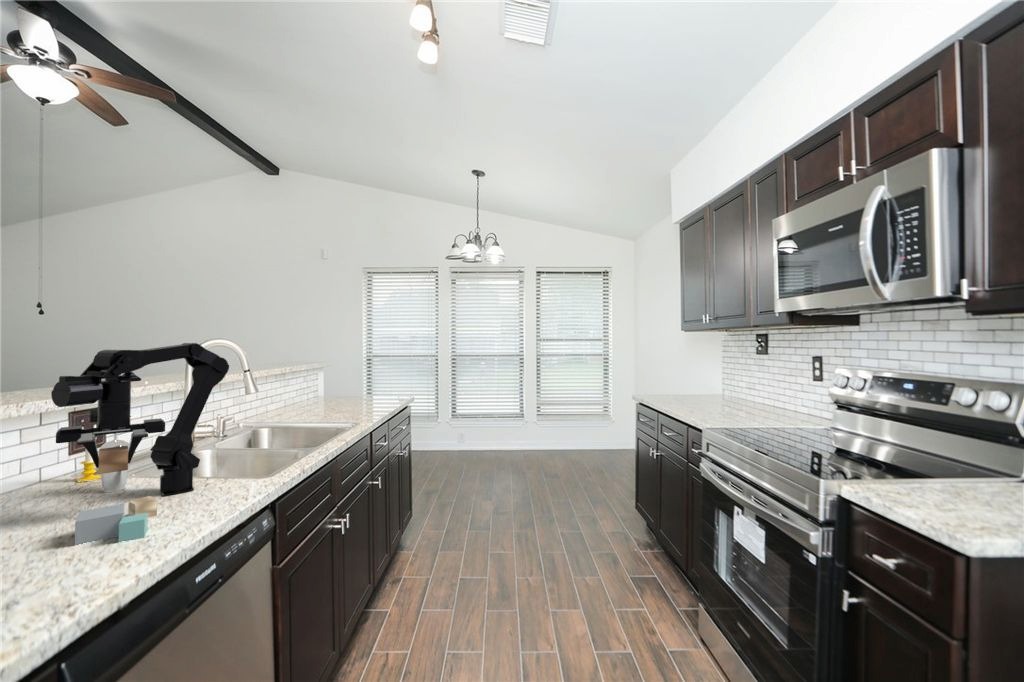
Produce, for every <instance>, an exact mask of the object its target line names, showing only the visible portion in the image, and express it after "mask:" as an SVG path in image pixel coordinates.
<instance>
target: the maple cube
mask: <svg viewBox="0 0 1024 682" xmlns="http://www.w3.org/2000/svg"><path fill="white" fill-rule="evenodd" d="M127 510H128V513H127V514H128V516H132V515H138V514H144V513H148V519H150V518H152V517H156V516H158V499H157V498H156V497H153V496H151V495H148V496H145V497H144V496H143V497H139V498H137V499H132V500H129V501H128V509H127ZM149 517H150V518H149Z"/></svg>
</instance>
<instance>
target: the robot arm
mask: <svg viewBox="0 0 1024 682" xmlns="http://www.w3.org/2000/svg"><path fill="white" fill-rule="evenodd" d="M181 359H184V360H185V362H186V364H187V365H188V366H190V367H191V368H193V369H192V372H191V375H192V376H191V377H192V382H193V383H192V386H191V387H190V389H189V392H188V394H187V396H186V398H185V400H184V402H183V404H182V406H181V407H180V408H181V409H180V410H179V412H178V415H177V417H176V419H175V421H174V423H173V425H172V427H171V429H170V431H169V432H167V433H166V434H165V435H158V436H157V437H156V438H155V441H154V445H153V446H152V447H151V448H150V449H149V451H151V453H150V458H151V461H152V462H153V464H155V466H156V468H157V470H159V471H161V470H162V474H161V475H160V476H159V491H160V493H162V495H163V497H165V496H171V495H177V494H181V493H187V492H193V491H194V490H195V488H194V483H193V481H194V478H193V476H194V473H193V472H194V469H196V468H198V467H199V465H200V461H201V459H200V458H199V457H197V456H196V455H195V454H194V453H192V450H193V447H194V444H193V436H192V434H193V432H194V431H195V429H196V426H197V424H198V422H199V419H200V417H201V414H202V413H203V410H204V408H205V406H206V403H207V402H208V400H209V397H210V395H211V393H212V391H213V389H214V388H215V387H216V386H217V385H219V383H221V382H222V381H223V380H224V378H225V377H226V375H227V373H228V372H229V370H230V365H229V362H228V361H227V360H226V359H225V358H224V357H222V356H220V355H219V354H217V353H215V352H213V351H210V350H208V349H206V348H205V347H204V346H202V345H201V344H199V343H197V342H184V343H181V344H174V345H167V346H159V347H154V348H153V347H151V348H146V349H103V350H100V351H98V352H97V354H95V356H94V357H93V359H92V362H91V363H90V364H89V365H88V366H87V367H86V369H84V371H83V372H82V373H81V374H80V375H73V376H72V375H60V376H59V378H58V382H56V383H55V385H54V387H53V389H52V390H51V394H50V395H51V399H52V403H53V404H54V405H55V406H57V407H58V408H65V407H66V408H67V407H73V406H74V407H75V406H83V405H84V406H85V405H92V404H95V403H96V402H97V409H91V410H90V412H89V424H90V425H97V427H91V428H90V427H88V428H83V425H74V426H73V425H72V426H64V427H60V428H59V429H58V430H57V431H56V433H55V444H64V443H65V444H66V443H72V442H73V443H75V442H76V445H77V446H80V445H81V446H83V447H84V448H85V449H87V451H88V452H89V453H90V455H91V457H92V459H93V462H94V467H95V468H96V469H99V457H98V446H97V445H98V444H97V438H96V436H104V435H114V434H115V433H117V434H124V433H131V435H130V440H129V441H130V442H129V444H130V446H129V451H128V464H129V465H130V464H131V462H132V459H133V457H134V455H135V453H136V450H137V448H138V446H139V445H140V443H141V442H142V441H143V439H144V438H148V437H149V434H157V433H163V432H166V421H164V419H162V418H152V419H151V418H150V419H149V418H148V419H144V420H143V423H142V422H141V423H132V424H131V417H130V416H131V408H132V407H131V404H132V403H131V402H132V400H131V399H132V396H131V395H132V393H131V392H132V382H140V381H142V378H141V377H139V376H138V375H136V374H135V373H134V372H135V371H137V370H139V369H142V368H144V367H145V366H147V365H151V364H159V363H163V362H169V361H175V360H181ZM134 452H135V453H134Z"/></svg>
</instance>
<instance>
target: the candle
mask: <svg viewBox="0 0 1024 682" xmlns="http://www.w3.org/2000/svg"><path fill="white" fill-rule="evenodd" d="M84 456H85V457H84V460H83V461H81V462H79V464H80V465H83V471H81V473H80V475H82V477H78V478H77V479H76V480H77V481H85V480H86V481H87V480H94V479H98V478H100V479H101V474H95V473H96V472H97V469H95V464H94V462H93V459H92V457H91V455H90V453H89V452H88V451H87V449H86V448H85V455H84ZM98 480H99V479H98ZM94 481H95V480H94Z"/></svg>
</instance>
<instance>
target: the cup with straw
mask: <svg viewBox="0 0 1024 682" xmlns="http://www.w3.org/2000/svg"><path fill="white" fill-rule="evenodd" d="M131 417H132V416H131V415H130V418H131ZM120 446H128V451H129V446H130V442H127V441H125V440H123V439H118V433H115V434H113V440H109V441H107V442H105V443H103V444H102V445H101V446H100V447H99V449H104V448H112V447H120ZM99 449H97V451H98V457H99ZM134 454H136V451H135V452H134ZM129 468H130V463H129V464H128V470H124V471H118V472H111V473H104V474H100V476H101V478H100V481H101V487H102V492H103V493H113V492H112V491H115V492H118V490H120V491H123V490H124V488H125V489H126V484H127V480H128V475H129ZM122 489H123V490H122Z"/></svg>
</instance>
